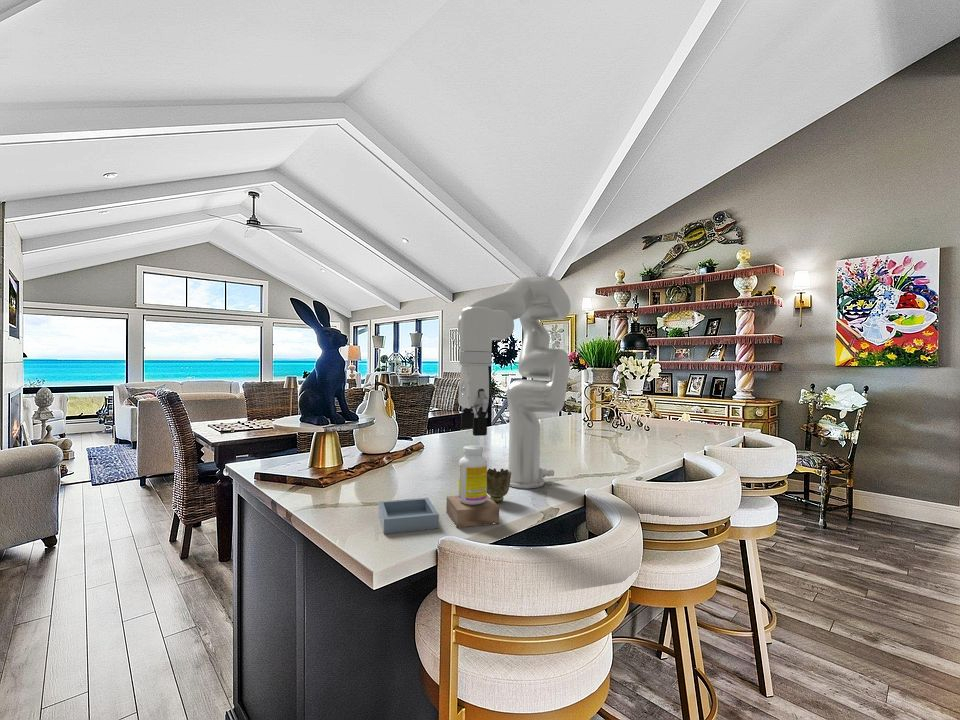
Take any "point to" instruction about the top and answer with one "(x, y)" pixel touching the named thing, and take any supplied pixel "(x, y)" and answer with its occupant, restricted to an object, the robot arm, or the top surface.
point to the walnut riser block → (472, 512)
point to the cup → (498, 484)
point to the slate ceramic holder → (407, 515)
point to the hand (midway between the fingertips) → (473, 431)
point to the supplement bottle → (472, 476)
